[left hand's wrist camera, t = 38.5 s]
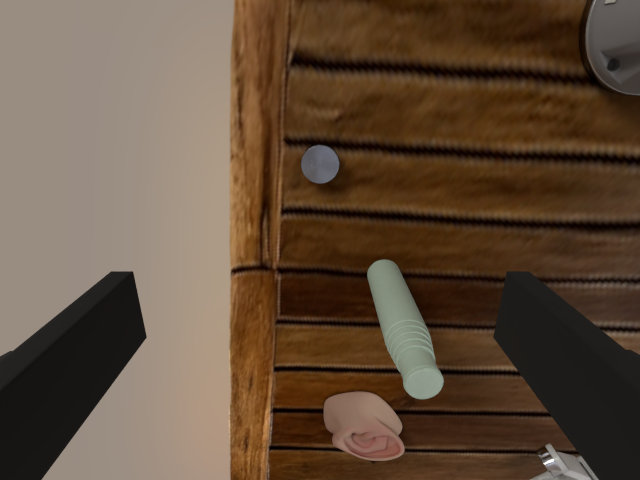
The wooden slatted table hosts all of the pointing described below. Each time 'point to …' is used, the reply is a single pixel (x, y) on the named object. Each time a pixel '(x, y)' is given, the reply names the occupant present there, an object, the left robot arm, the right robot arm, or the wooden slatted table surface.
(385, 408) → the anatomical model
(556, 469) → the right robot arm
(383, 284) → the bottle
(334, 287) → the wooden slatted table surface
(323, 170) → the cap
